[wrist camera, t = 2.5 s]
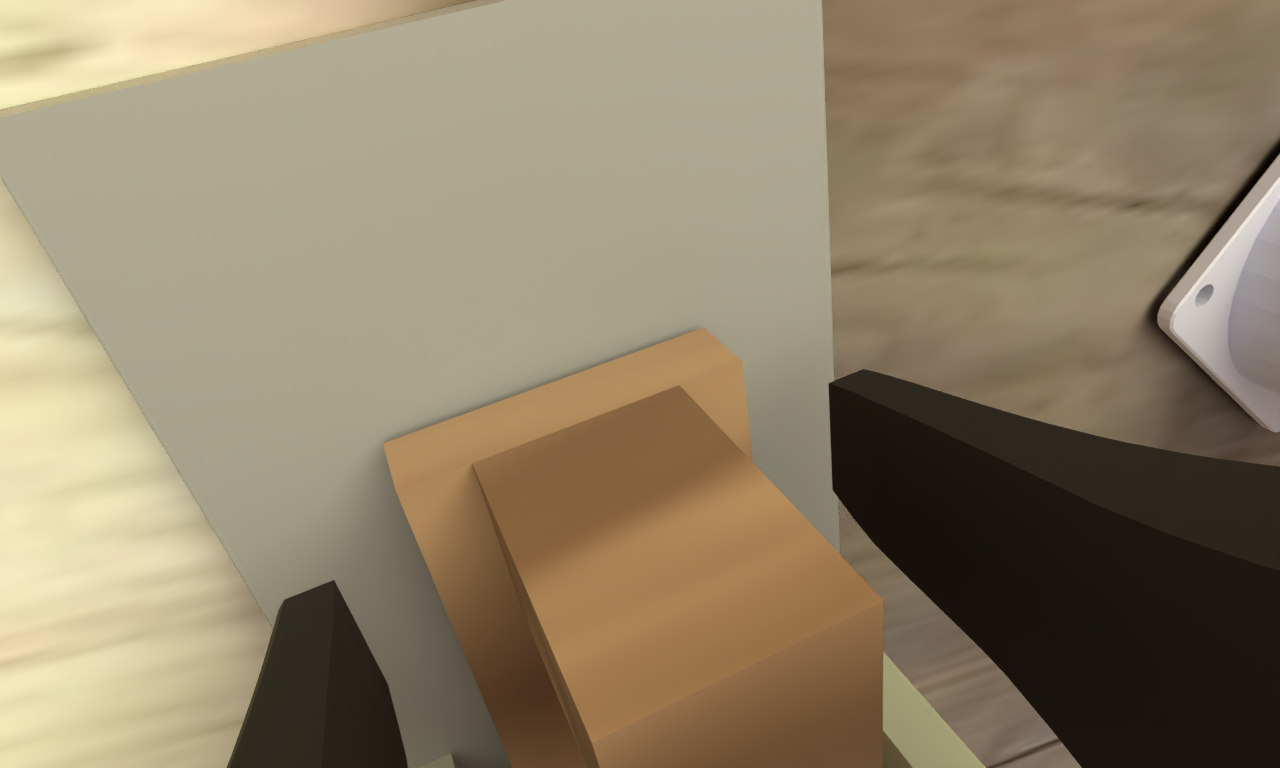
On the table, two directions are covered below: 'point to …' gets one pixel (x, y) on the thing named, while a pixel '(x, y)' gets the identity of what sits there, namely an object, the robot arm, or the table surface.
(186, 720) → the table surface
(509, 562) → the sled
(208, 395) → the track board
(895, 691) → the tunnel
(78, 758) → the table surface
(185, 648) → the table surface
